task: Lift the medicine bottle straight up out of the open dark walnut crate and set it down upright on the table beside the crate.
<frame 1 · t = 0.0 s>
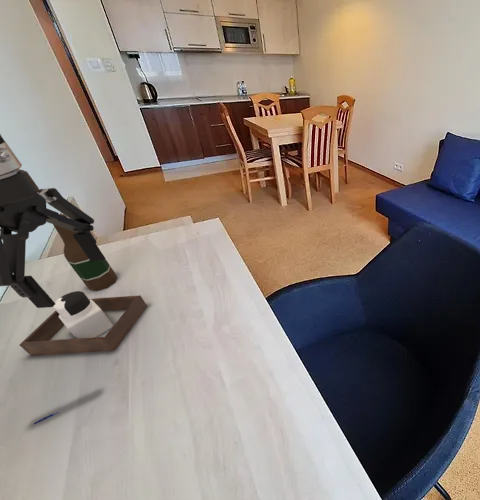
hand: (75, 280, 59), 23 cm above the table, tool pointing down, fingers open, 13 cm apart
ballpoint pen: (69, 410, 61), on the table
medicine bottle: (95, 331, 79), resting in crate
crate: (95, 331, 78), on the table
beer bottle: (104, 283, 95), on the table
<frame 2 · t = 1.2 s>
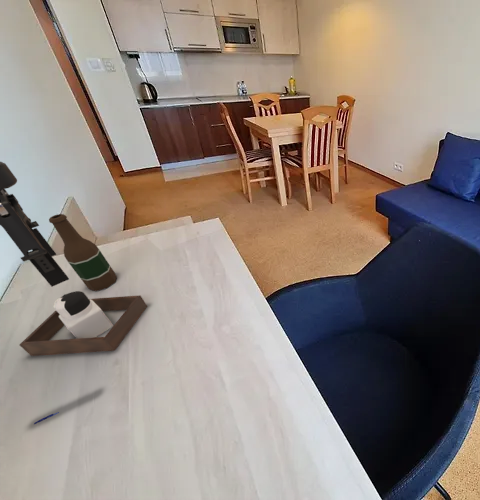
hand: (54, 268, 61), 23 cm above the table, tool pointing down, fingers open, 13 cm apart
nothing on the table moved.
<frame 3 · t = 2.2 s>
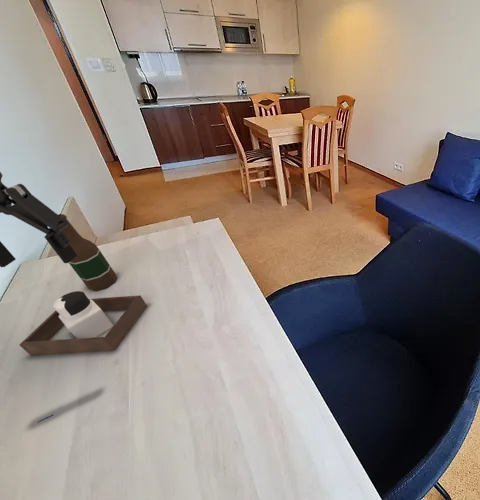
hand: (39, 261, 64), 24 cm above the table, tool pointing down, fingers open, 13 cm apart
nothing on the table moved.
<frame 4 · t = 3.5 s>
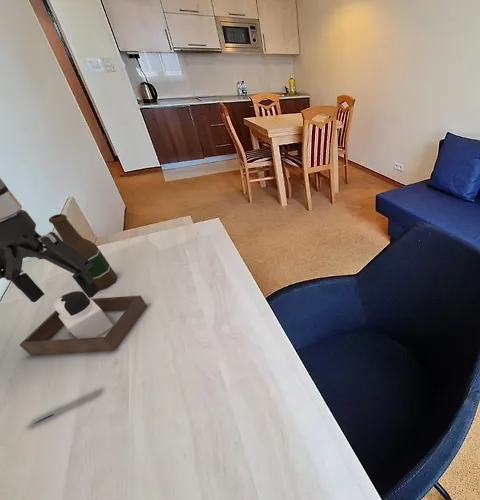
hand: (66, 296, 71), 13 cm above the table, tool pointing down, fingers open, 13 cm apart
nothing on the table moved.
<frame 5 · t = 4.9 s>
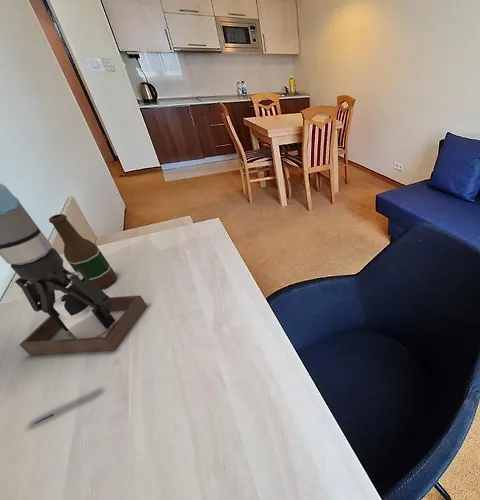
hand: (90, 325, 77), 2 cm above the table, tool pointing down, fingers closed on medicine bottle, 10 cm apart
medicine bottle: (95, 331, 79), resting in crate, touching gripper
everything else where it was.
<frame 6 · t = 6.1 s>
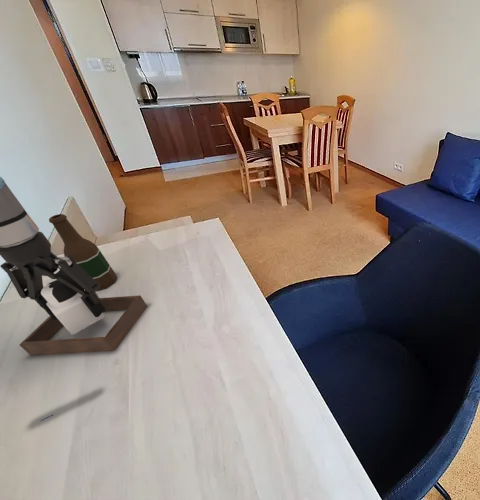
hand: (79, 314, 75), 6 cm above the table, tool pointing down, fingers closed on medicine bottle, 10 cm apart
medicine bottle: (85, 320, 76), point 4 cm above the table, touching gripper
everything else where it was.
when the fingers open (2 cm above the table, at t = 12.9 s): medicine bottle stays where it is, on the table.
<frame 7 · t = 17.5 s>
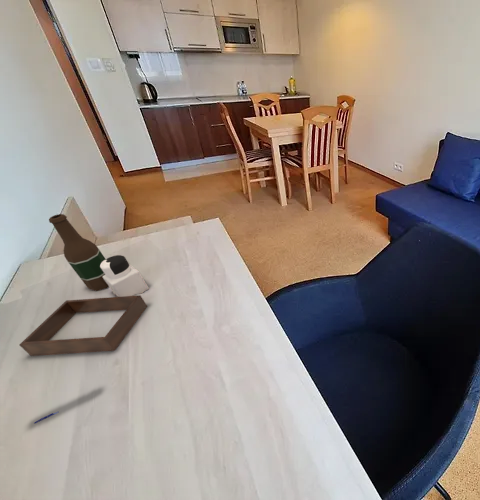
medicine bottle: (132, 292, 91), on the table
everything else where it was.
at the end: medicine bottle inside the target area (0.2 cm from its centre), on the table; medicine bottle tilted 0°; the gripper is holding nothing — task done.
